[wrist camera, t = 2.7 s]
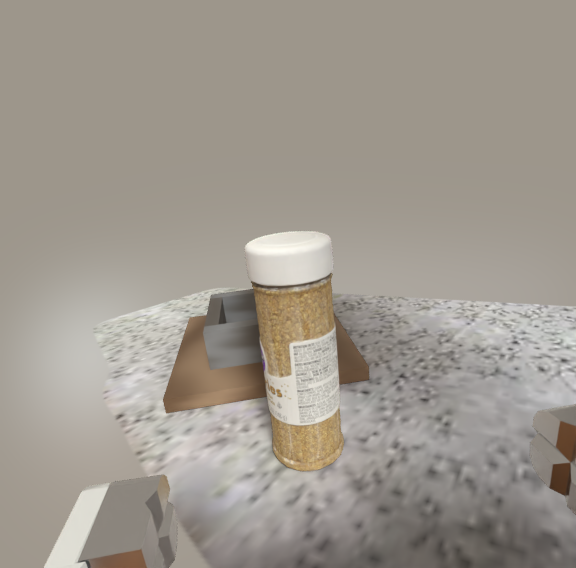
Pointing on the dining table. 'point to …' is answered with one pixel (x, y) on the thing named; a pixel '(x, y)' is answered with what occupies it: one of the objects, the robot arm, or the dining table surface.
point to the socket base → (235, 356)
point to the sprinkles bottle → (298, 345)
